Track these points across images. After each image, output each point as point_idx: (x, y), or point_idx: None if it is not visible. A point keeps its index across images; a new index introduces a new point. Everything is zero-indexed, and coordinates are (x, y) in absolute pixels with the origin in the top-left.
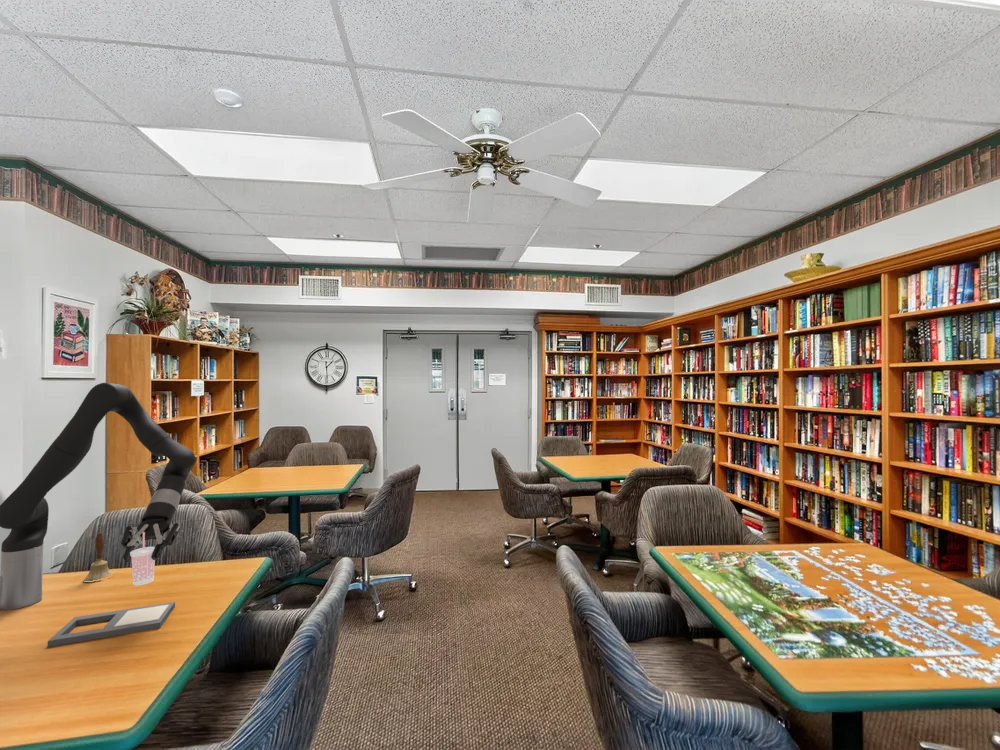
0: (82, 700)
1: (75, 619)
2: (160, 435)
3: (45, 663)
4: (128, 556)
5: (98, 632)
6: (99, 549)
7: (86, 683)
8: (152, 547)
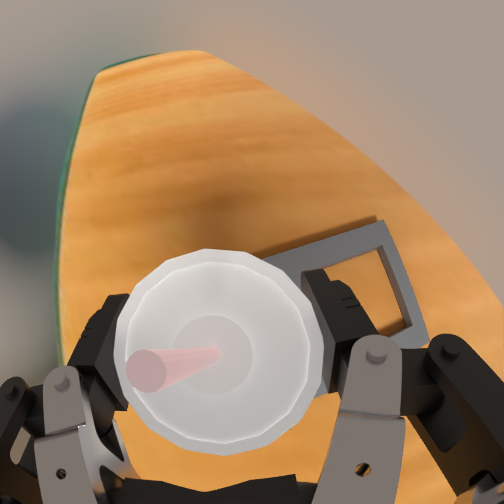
0: (166, 87)
1: (418, 328)
2: None
3: (317, 163)
4: (307, 293)
5: (295, 248)
6: None
7: (186, 111)
8: (189, 437)
